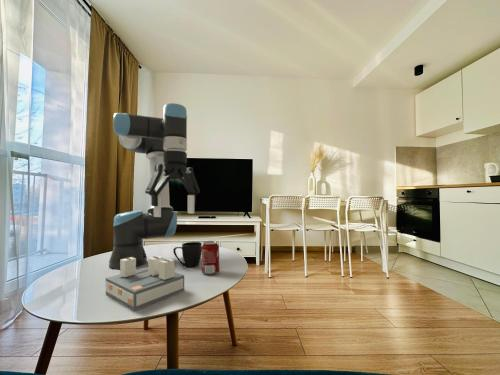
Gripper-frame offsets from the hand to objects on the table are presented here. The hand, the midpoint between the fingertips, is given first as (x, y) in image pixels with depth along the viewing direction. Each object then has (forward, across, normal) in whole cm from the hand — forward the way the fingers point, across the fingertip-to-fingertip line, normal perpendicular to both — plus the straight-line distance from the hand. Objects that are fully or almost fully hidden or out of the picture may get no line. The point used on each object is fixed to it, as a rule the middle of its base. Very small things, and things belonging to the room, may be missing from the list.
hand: (175, 215), depth 80 cm
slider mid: (+18, -5, +3) cm, 19 cm away
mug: (+24, +18, +14) cm, 33 cm away
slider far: (+19, -11, +10) cm, 24 cm away
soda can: (+24, +17, 0) cm, 29 cm away
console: (+24, -8, +4) cm, 26 cm away
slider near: (+18, -5, -3) cm, 19 cm away
